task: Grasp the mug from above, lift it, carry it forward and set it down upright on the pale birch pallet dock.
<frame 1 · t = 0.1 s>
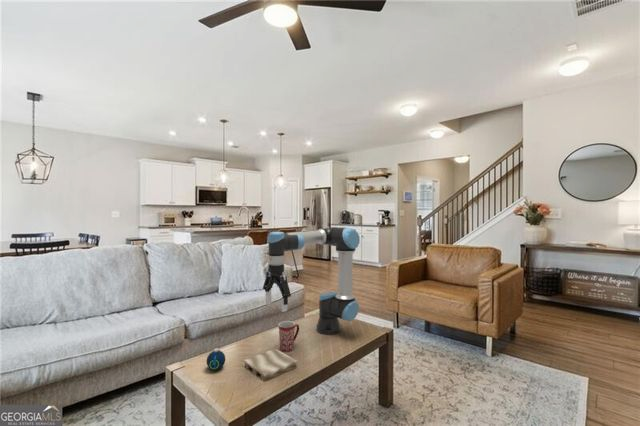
hand: (276, 307, 148), 28 cm above the table, fingers open, 13 cm apart
dock: (270, 366, 147), on the table
mug: (289, 348, 167), on the table
christmas ornament: (216, 369, 145), on the table
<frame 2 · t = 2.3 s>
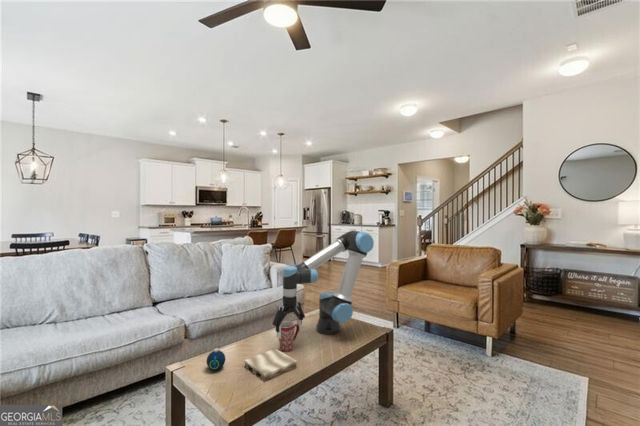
hand: (288, 334, 167), 7 cm above the table, fingers open, 13 cm apart
nothing on the table moved.
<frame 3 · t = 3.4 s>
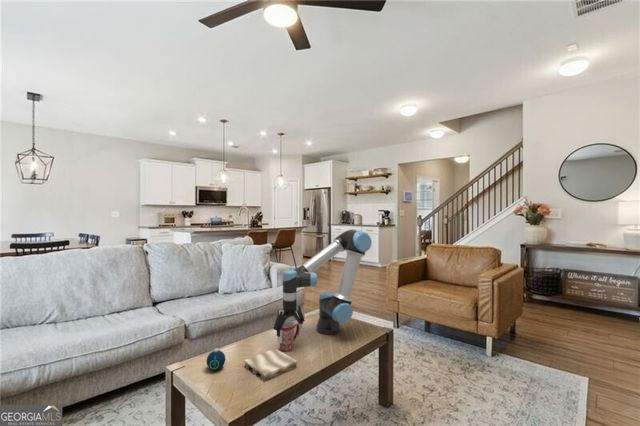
hand: (289, 338, 167), 5 cm above the table, fingers closed on mug, 12 cm apart
mug: (289, 348, 167), on the table, touching gripper
everything else where it was.
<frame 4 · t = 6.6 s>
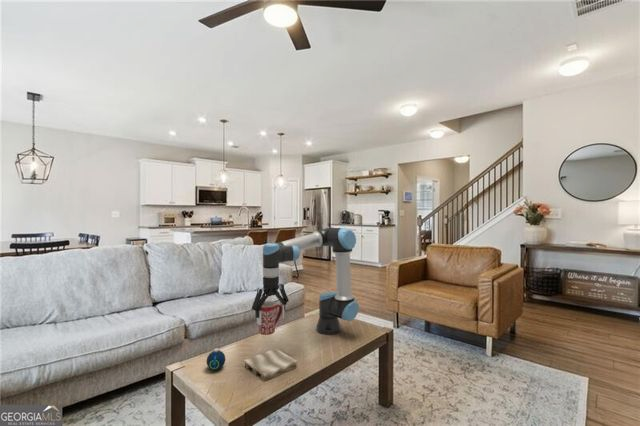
hand: (270, 320, 147), 22 cm above the table, fingers closed on mug, 12 cm apart
mug: (270, 331, 146), point 17 cm above the table, touching gripper
everything else where it was.
when the fingers open (9 cm above the table, at t = 10.0 s): mug stays where it is, resting on dock.
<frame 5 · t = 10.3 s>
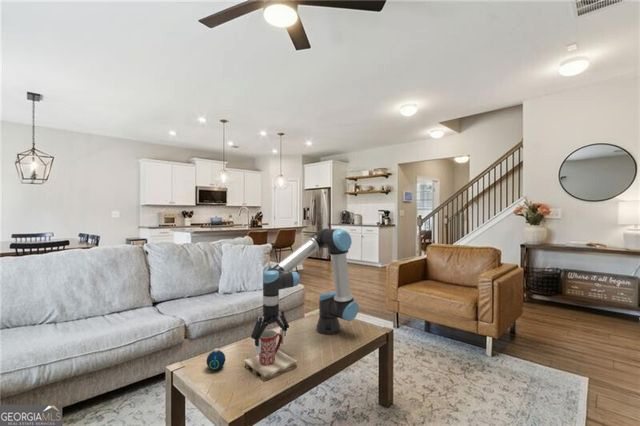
hand: (270, 347, 147), 9 cm above the table, fingers open, 13 cm apart
mug: (270, 361, 147), point 3 cm above the table, touching dock, gripper
everything else where it was.
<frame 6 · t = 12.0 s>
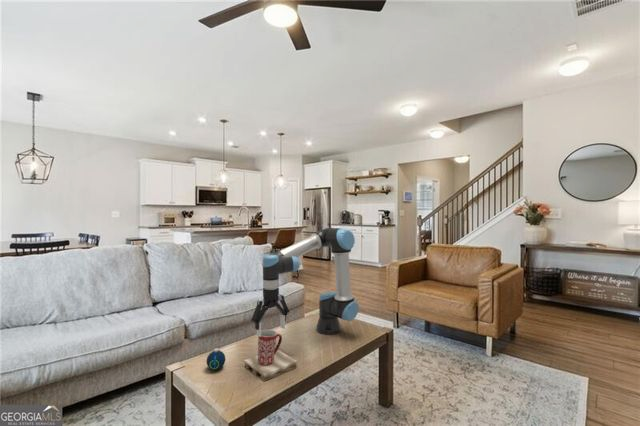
hand: (271, 331, 147), 17 cm above the table, fingers open, 13 cm apart
mug: (268, 361, 146), point 3 cm above the table, touching dock
everything else where it was.
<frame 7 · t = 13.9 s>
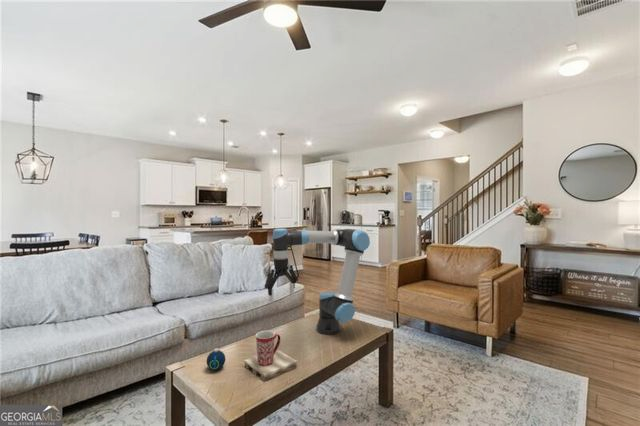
hand: (282, 298, 161), 29 cm above the table, fingers open, 13 cm apart
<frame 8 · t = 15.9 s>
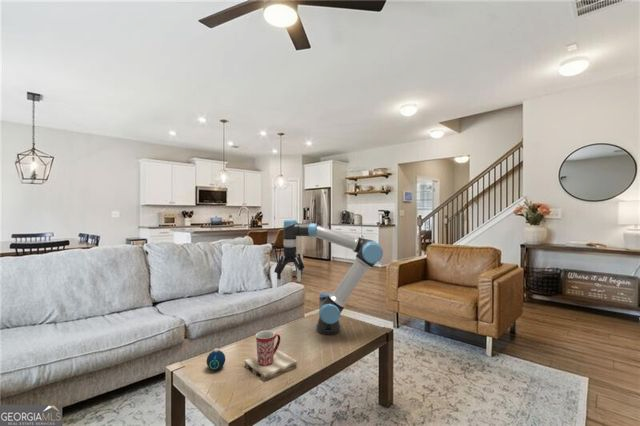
hand: (289, 282, 178), 33 cm above the table, fingers open, 13 cm apart
nothing on the table moved.
at the end: mug inside the target area on the dock (1.1 cm from its centre), point 2.8 cm above the dock's base; mug tilted 0°; the gripper is holding nothing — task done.
